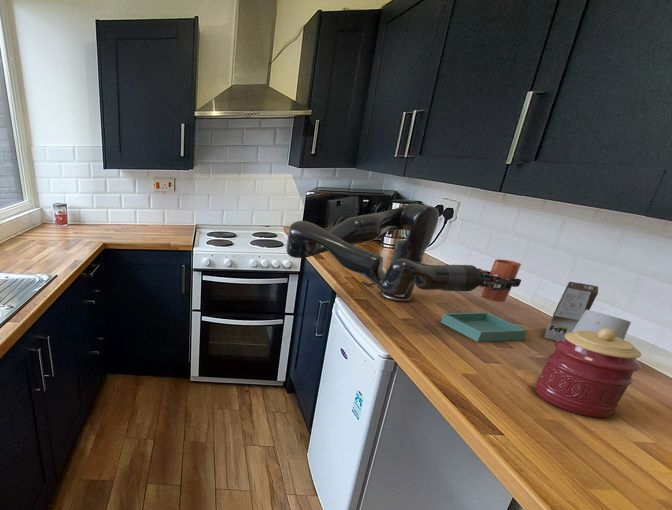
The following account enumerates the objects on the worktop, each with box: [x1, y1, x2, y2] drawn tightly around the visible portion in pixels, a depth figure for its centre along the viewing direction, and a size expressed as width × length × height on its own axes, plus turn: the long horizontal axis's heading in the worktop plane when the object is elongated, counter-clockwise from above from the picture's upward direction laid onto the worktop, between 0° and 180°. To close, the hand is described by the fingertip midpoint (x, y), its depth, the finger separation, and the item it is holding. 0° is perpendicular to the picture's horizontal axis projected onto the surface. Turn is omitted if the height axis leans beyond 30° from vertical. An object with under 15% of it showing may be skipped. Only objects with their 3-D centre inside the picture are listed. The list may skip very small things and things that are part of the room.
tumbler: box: [480, 259, 522, 303], centre depth 116 cm, size 6×6×11 cm
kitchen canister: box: [534, 328, 642, 418], centre depth 85 cm, size 13×13×18 cm
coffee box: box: [543, 281, 599, 342], centre depth 117 cm, size 9×6×16 cm
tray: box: [440, 311, 528, 343], centre depth 122 cm, size 14×16×3 cm
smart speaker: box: [572, 309, 632, 340], centre depth 104 cm, size 10×9×14 cm
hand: (509, 279), depth 116 cm, fingers closed on tumbler, 6 cm apart
